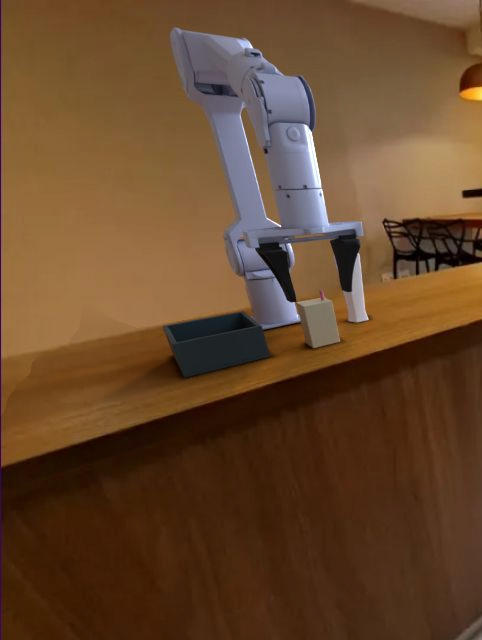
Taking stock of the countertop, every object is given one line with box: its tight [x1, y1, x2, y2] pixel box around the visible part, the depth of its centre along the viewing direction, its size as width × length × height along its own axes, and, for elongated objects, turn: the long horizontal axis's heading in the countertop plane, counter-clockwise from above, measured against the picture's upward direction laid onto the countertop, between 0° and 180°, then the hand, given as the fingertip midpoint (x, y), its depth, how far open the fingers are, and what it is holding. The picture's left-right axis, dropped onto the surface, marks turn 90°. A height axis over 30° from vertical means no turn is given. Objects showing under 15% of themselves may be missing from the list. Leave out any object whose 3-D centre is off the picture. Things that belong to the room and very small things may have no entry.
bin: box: [162, 310, 271, 379], centre depth 67 cm, size 11×11×5 cm
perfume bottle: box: [333, 252, 370, 324], centre depth 81 cm, size 5×4×15 cm
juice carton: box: [295, 289, 341, 349], centre depth 72 cm, size 4×4×9 cm
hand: (320, 295), depth 61 cm, fingers open, 7 cm apart
